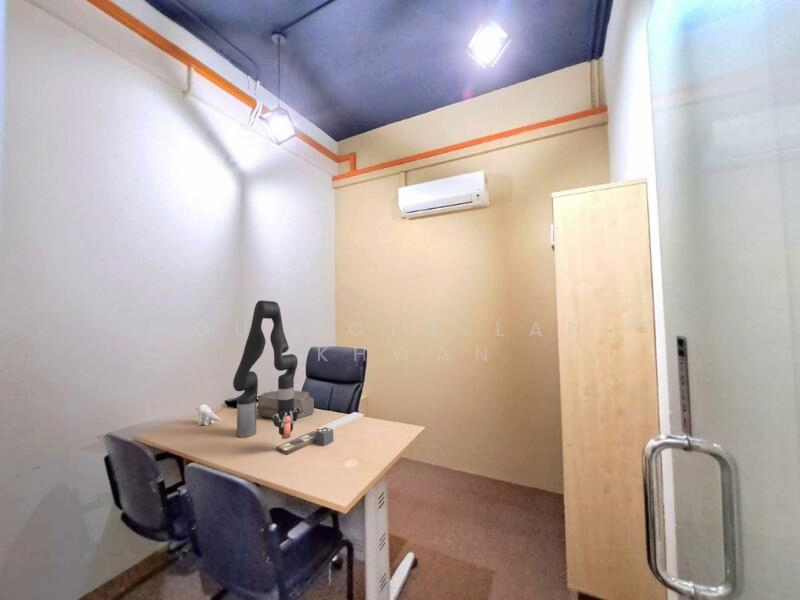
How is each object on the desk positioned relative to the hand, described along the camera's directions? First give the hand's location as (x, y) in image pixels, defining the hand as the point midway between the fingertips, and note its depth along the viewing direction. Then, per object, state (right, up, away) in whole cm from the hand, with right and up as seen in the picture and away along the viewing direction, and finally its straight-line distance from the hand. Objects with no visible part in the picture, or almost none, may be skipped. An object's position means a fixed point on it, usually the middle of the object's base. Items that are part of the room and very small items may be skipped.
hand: (285, 432), depth 144 cm
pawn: (0, -2, 0) cm, 2 cm away
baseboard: (+19, -9, +34) cm, 40 cm away
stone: (-19, -10, +50) cm, 55 cm away
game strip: (+5, -8, +7) cm, 12 cm away
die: (+17, -8, +7) cm, 20 cm away
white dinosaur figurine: (-59, -11, +35) cm, 69 cm away
